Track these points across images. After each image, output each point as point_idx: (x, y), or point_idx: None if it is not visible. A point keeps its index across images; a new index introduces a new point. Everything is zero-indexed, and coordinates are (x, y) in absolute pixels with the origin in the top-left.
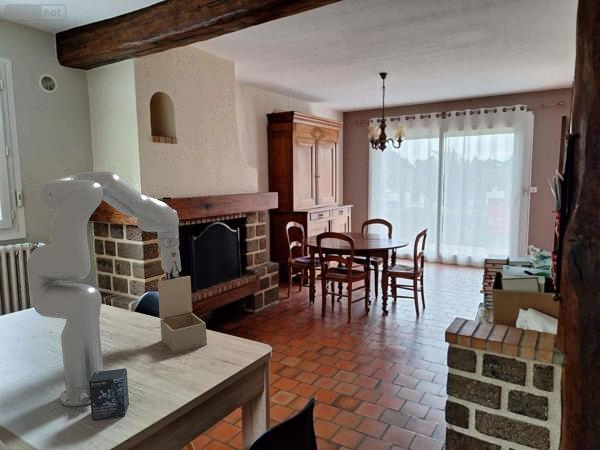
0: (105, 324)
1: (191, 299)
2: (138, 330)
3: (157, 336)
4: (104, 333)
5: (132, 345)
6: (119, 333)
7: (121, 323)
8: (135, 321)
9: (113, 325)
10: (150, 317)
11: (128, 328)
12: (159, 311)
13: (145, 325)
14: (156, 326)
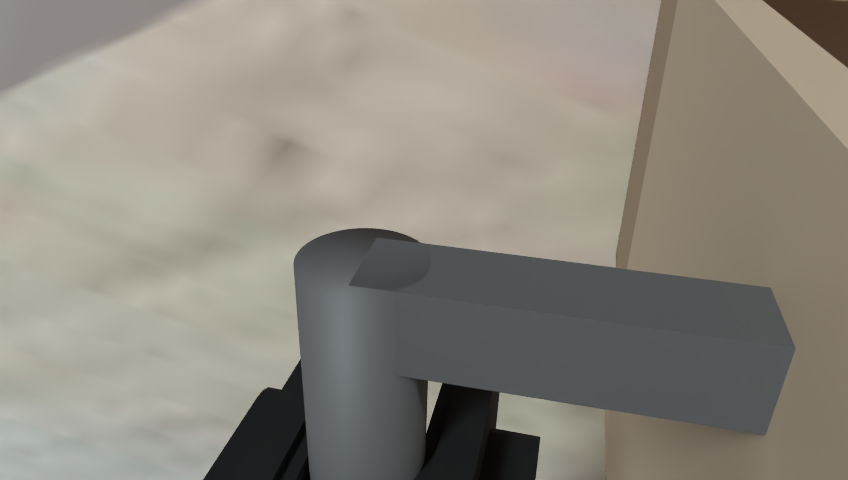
0: (33, 387)
1: (767, 7)
2: (265, 290)
3: (495, 241)
4: (199, 446)
5: (538, 424)
6: (251, 393)
7: (56, 316)
8: (53, 234)
9: (74, 363)
10: (2, 109)
11: (183, 322)
12: (607, 446)
13: (181, 213)
14: (253, 156)
